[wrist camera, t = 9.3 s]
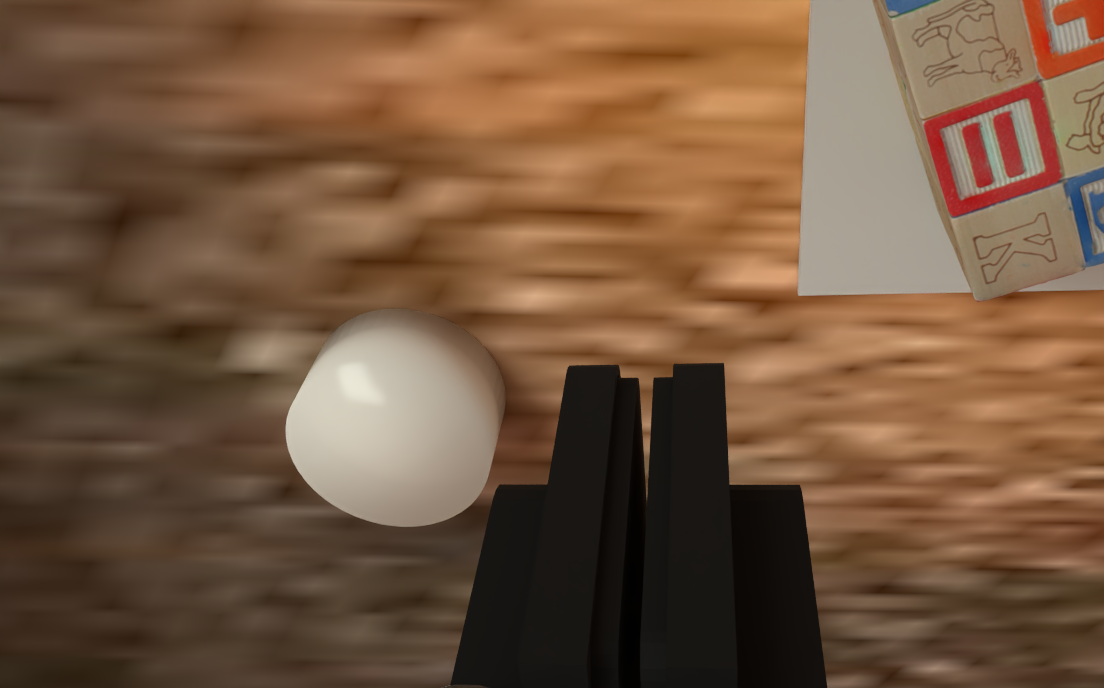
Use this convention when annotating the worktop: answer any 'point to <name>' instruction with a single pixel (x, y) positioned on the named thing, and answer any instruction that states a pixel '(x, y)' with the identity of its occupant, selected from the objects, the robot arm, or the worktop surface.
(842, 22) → the silicone mat
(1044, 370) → the worktop surface
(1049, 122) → the stack of blocks
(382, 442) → the cream dome knob
